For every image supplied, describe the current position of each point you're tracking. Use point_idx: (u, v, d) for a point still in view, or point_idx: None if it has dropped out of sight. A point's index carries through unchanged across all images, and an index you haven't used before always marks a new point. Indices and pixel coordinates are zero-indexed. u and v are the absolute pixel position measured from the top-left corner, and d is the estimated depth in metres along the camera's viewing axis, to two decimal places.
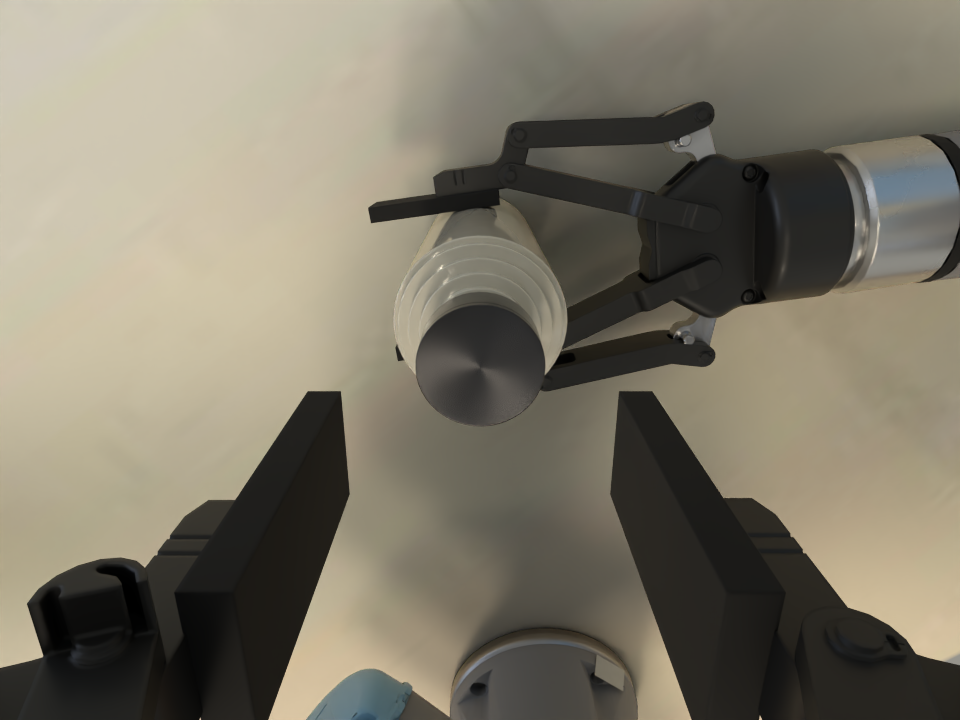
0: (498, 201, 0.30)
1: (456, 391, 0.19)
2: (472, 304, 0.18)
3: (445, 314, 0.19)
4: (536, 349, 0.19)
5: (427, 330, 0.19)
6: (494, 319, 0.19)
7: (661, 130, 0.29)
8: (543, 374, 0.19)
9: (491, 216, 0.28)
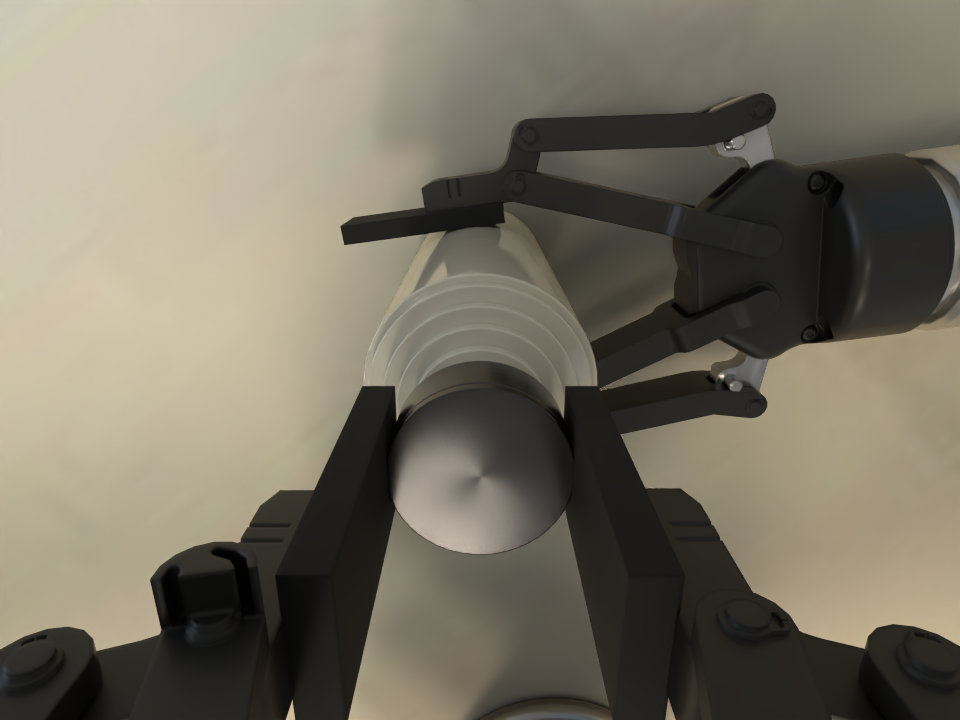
0: (503, 218, 0.24)
1: (445, 508, 0.13)
2: (468, 387, 0.12)
3: (428, 401, 0.13)
4: (562, 451, 0.13)
5: (402, 423, 0.13)
6: (501, 409, 0.13)
7: (708, 129, 0.23)
8: (572, 484, 0.13)
9: (494, 239, 0.22)
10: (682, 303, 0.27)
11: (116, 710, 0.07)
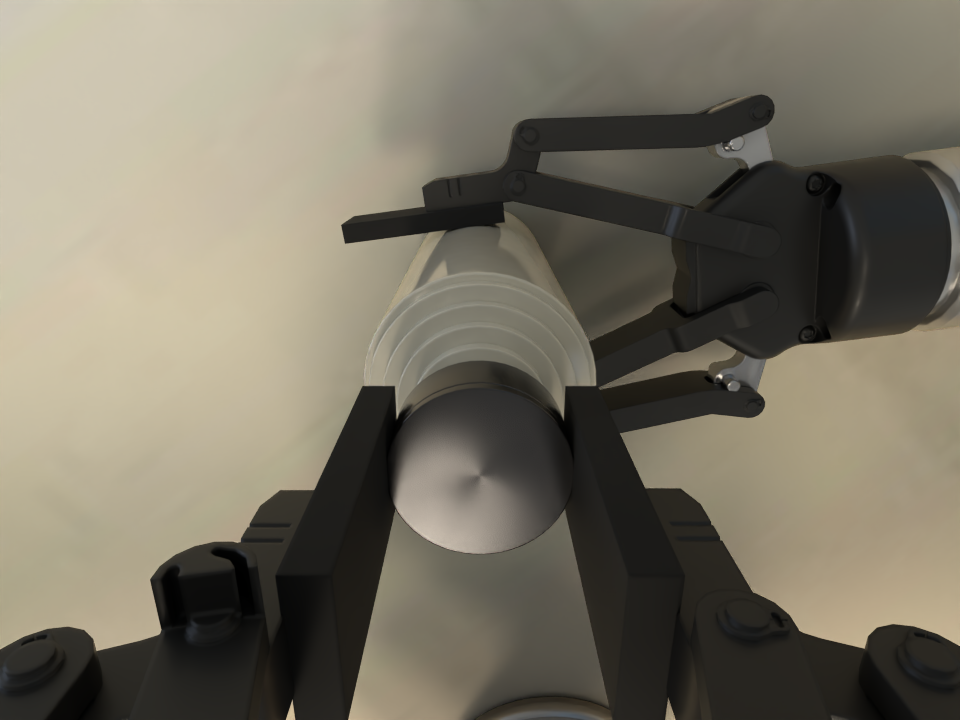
0: (502, 217, 0.24)
1: (531, 477, 0.13)
2: (420, 533, 0.14)
3: (454, 550, 0.14)
4: (402, 439, 0.13)
5: (488, 551, 0.14)
6: (413, 505, 0.13)
7: (707, 130, 0.23)
8: (423, 406, 0.13)
9: (494, 238, 0.22)
10: (681, 303, 0.27)
11: (116, 710, 0.07)
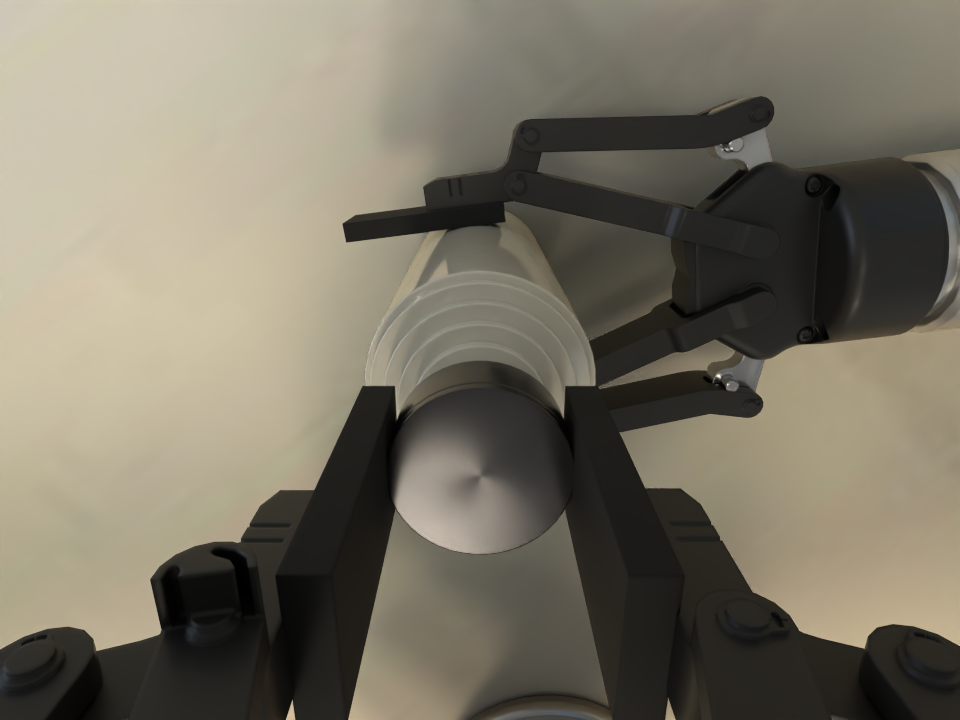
0: (503, 217, 0.25)
1: (446, 440, 0.13)
2: None
3: (567, 439, 0.13)
4: (499, 546, 0.14)
5: (546, 411, 0.13)
6: (550, 500, 0.13)
7: (707, 132, 0.24)
8: (460, 550, 0.14)
9: (495, 238, 0.22)
10: (680, 303, 0.27)
11: (116, 711, 0.07)
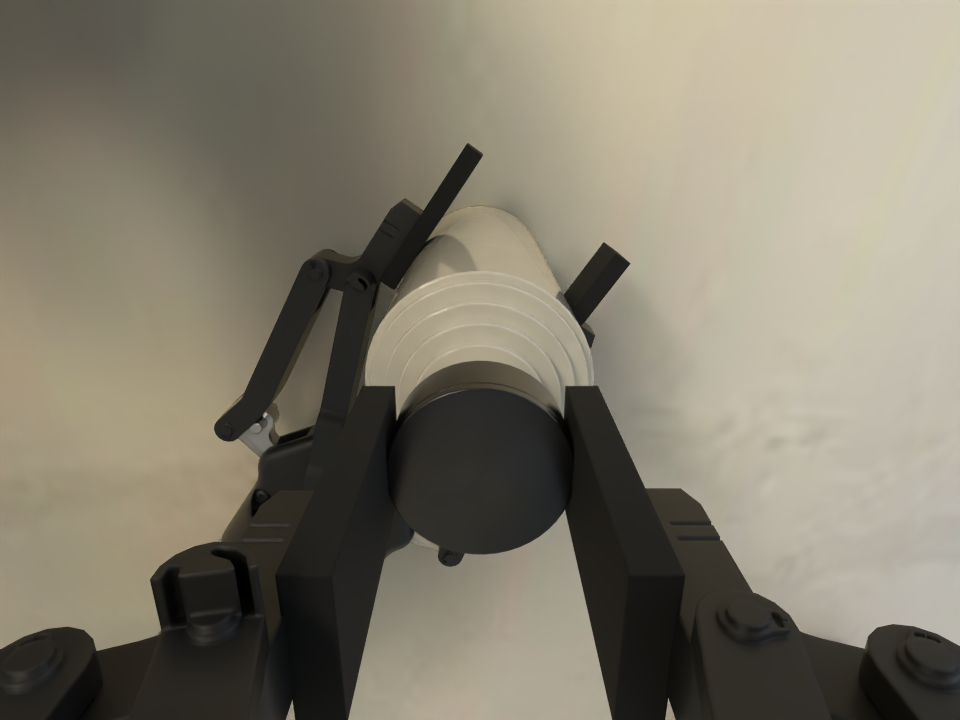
0: None
1: (446, 440, 0.13)
2: None
3: (567, 439, 0.13)
4: (499, 546, 0.14)
5: (546, 411, 0.13)
6: (550, 500, 0.13)
7: None
8: (460, 550, 0.14)
9: None
10: None
11: (116, 711, 0.07)
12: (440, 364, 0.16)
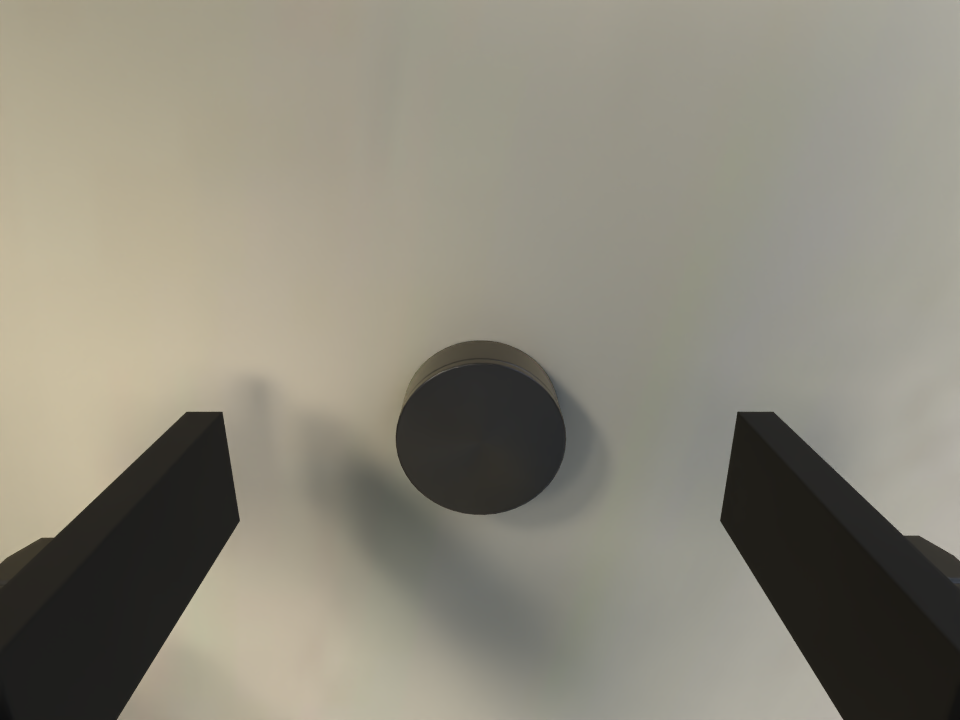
0: None
1: (450, 410, 0.14)
2: (565, 440, 0.15)
3: (558, 409, 0.14)
4: (497, 507, 0.15)
5: (539, 384, 0.14)
6: (543, 464, 0.15)
7: None
8: (463, 511, 0.15)
9: None
10: None
11: None
12: None
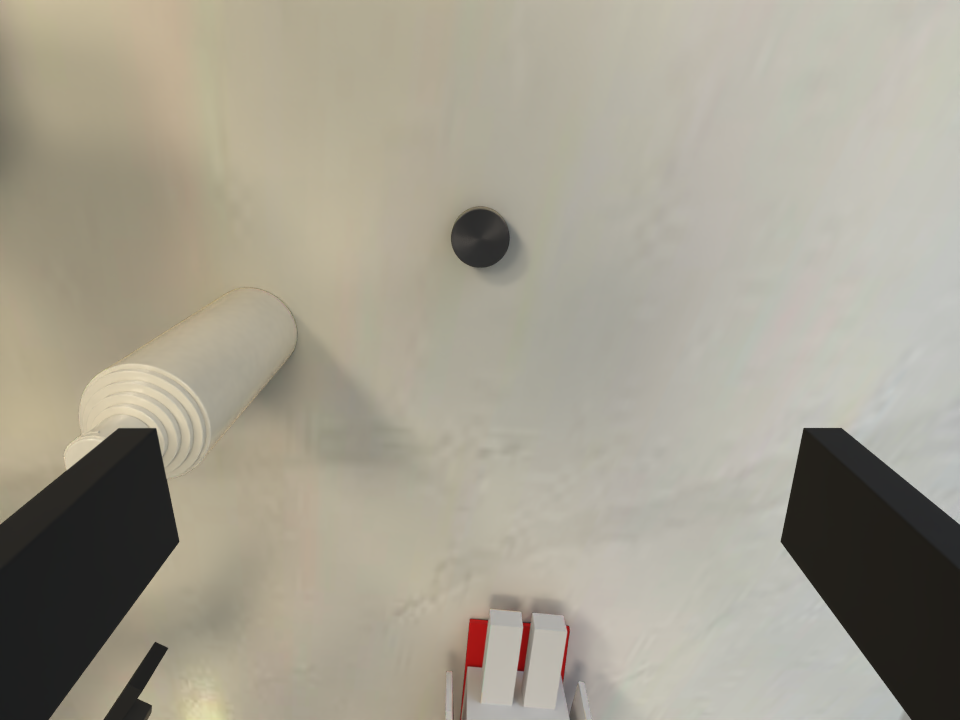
0: None
1: (470, 226, 0.42)
2: None
3: (506, 226, 0.42)
4: (486, 264, 0.43)
5: (500, 217, 0.42)
6: (501, 247, 0.43)
7: None
8: (474, 266, 0.43)
9: None
10: None
11: None
12: (101, 416, 0.30)
